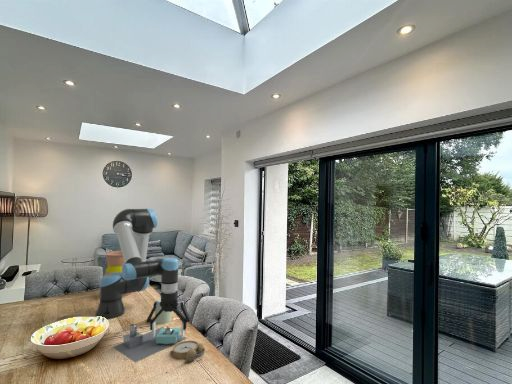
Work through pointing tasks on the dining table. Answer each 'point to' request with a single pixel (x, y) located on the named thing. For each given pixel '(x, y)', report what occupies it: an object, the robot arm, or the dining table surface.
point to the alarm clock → (188, 350)
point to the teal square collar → (168, 336)
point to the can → (162, 315)
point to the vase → (115, 264)
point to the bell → (167, 331)
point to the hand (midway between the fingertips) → (168, 336)
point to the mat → (144, 347)
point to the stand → (133, 337)
